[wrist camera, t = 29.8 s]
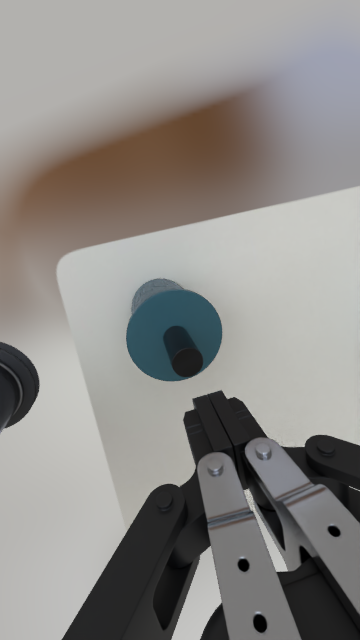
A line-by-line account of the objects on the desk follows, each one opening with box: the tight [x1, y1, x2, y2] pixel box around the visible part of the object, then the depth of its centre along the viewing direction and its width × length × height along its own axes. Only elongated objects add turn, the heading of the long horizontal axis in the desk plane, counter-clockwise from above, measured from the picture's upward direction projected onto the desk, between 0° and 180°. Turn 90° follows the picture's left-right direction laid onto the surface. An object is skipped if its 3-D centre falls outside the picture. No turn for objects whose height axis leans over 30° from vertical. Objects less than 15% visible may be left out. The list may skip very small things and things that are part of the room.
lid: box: [126, 289, 222, 381], centre depth 21 cm, size 8×8×6 cm
